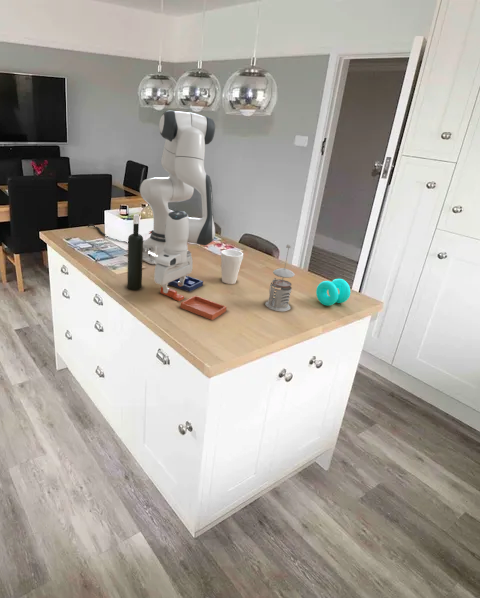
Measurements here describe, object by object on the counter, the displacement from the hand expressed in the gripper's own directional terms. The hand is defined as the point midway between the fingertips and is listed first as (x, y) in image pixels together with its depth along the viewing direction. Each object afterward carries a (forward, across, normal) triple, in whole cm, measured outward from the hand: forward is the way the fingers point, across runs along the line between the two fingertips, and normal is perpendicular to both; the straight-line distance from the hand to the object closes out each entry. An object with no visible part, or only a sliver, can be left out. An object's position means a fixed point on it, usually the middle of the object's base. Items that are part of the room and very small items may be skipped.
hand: (173, 289), depth 163 cm
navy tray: (+3, -14, -5) cm, 15 cm away
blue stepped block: (+3, -14, -5) cm, 15 cm away
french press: (+4, -22, +34) cm, 41 cm away
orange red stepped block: (+3, 0, -1) cm, 3 cm away
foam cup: (+3, -31, +8) cm, 32 cm away
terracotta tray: (+4, +1, +15) cm, 15 cm away
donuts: (+4, -40, +50) cm, 64 cm away
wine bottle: (+3, +4, -17) cm, 18 cm away
